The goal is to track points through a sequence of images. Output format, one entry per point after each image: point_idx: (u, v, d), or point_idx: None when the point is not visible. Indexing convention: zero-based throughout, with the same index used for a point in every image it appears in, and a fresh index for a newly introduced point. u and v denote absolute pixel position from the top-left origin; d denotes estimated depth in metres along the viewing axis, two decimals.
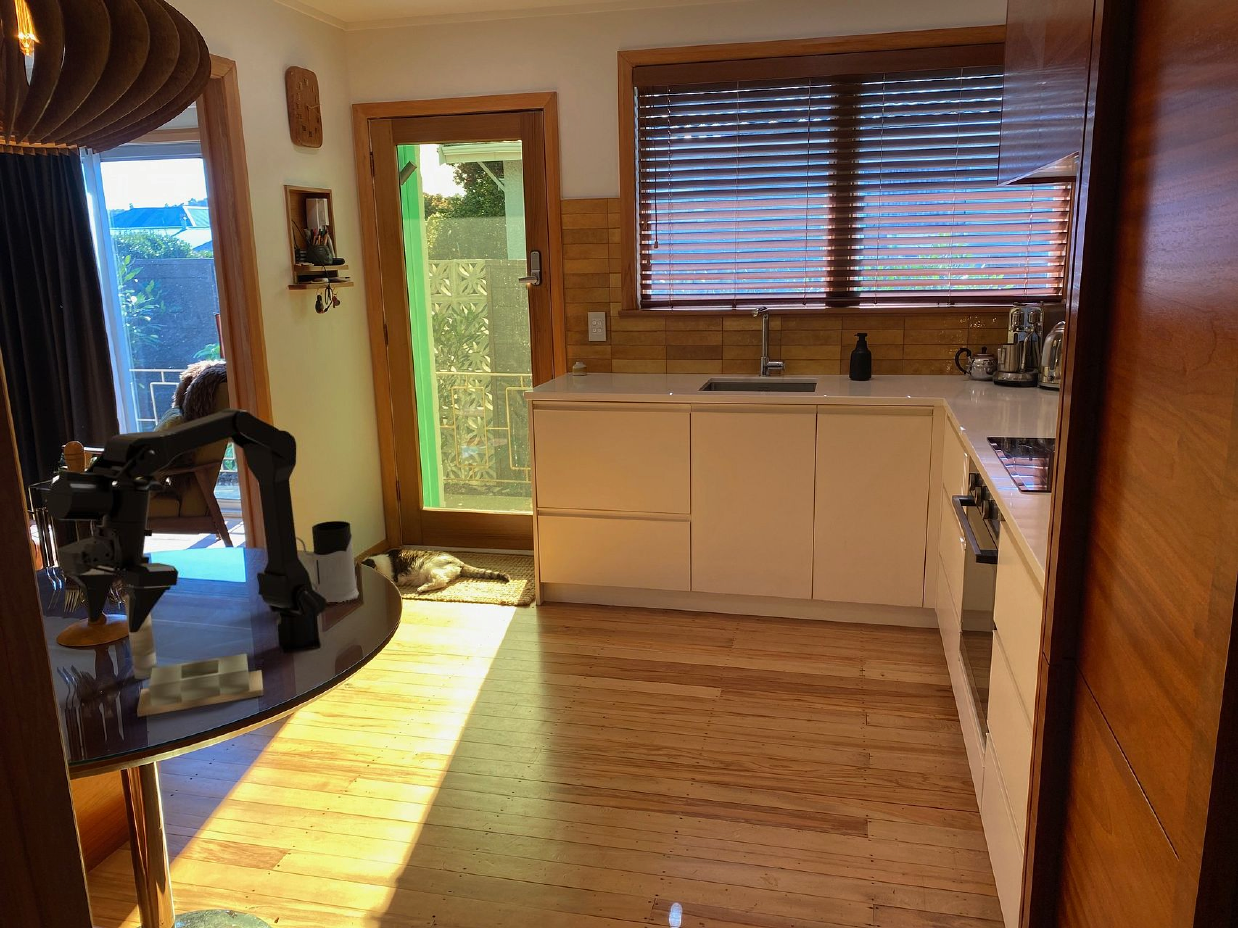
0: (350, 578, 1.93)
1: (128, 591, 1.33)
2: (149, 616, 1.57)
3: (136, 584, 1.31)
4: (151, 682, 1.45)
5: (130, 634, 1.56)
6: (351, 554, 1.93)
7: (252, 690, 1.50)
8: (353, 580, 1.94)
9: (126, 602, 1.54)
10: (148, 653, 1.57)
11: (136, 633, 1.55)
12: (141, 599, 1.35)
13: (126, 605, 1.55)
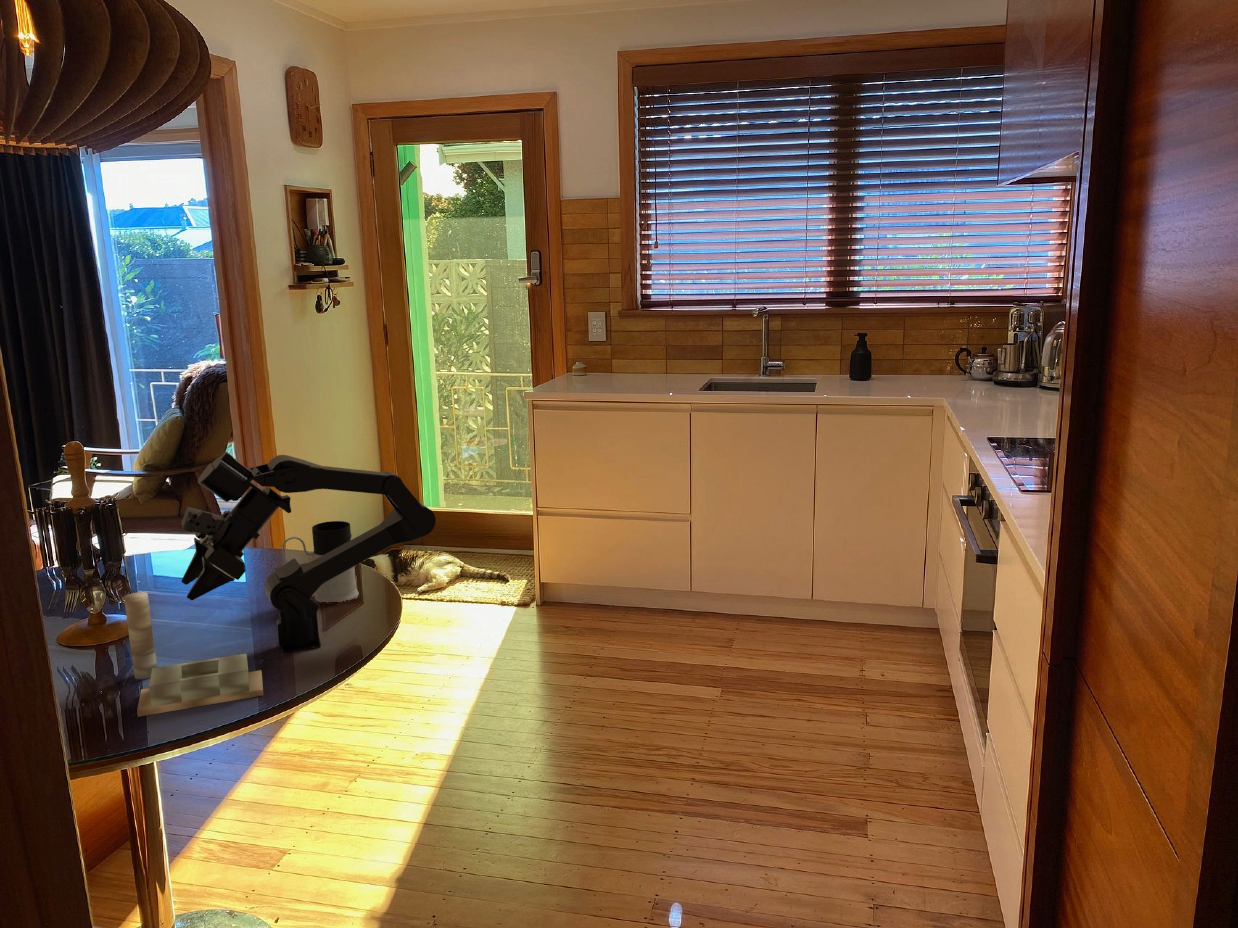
0: (350, 578, 1.93)
1: (203, 563, 1.54)
2: (149, 616, 1.57)
3: (207, 557, 1.52)
4: (151, 682, 1.45)
5: (130, 634, 1.56)
6: None
7: (252, 690, 1.50)
8: (353, 580, 1.94)
9: (126, 602, 1.54)
10: (148, 653, 1.57)
11: (136, 633, 1.55)
12: (209, 576, 1.55)
13: (126, 605, 1.55)
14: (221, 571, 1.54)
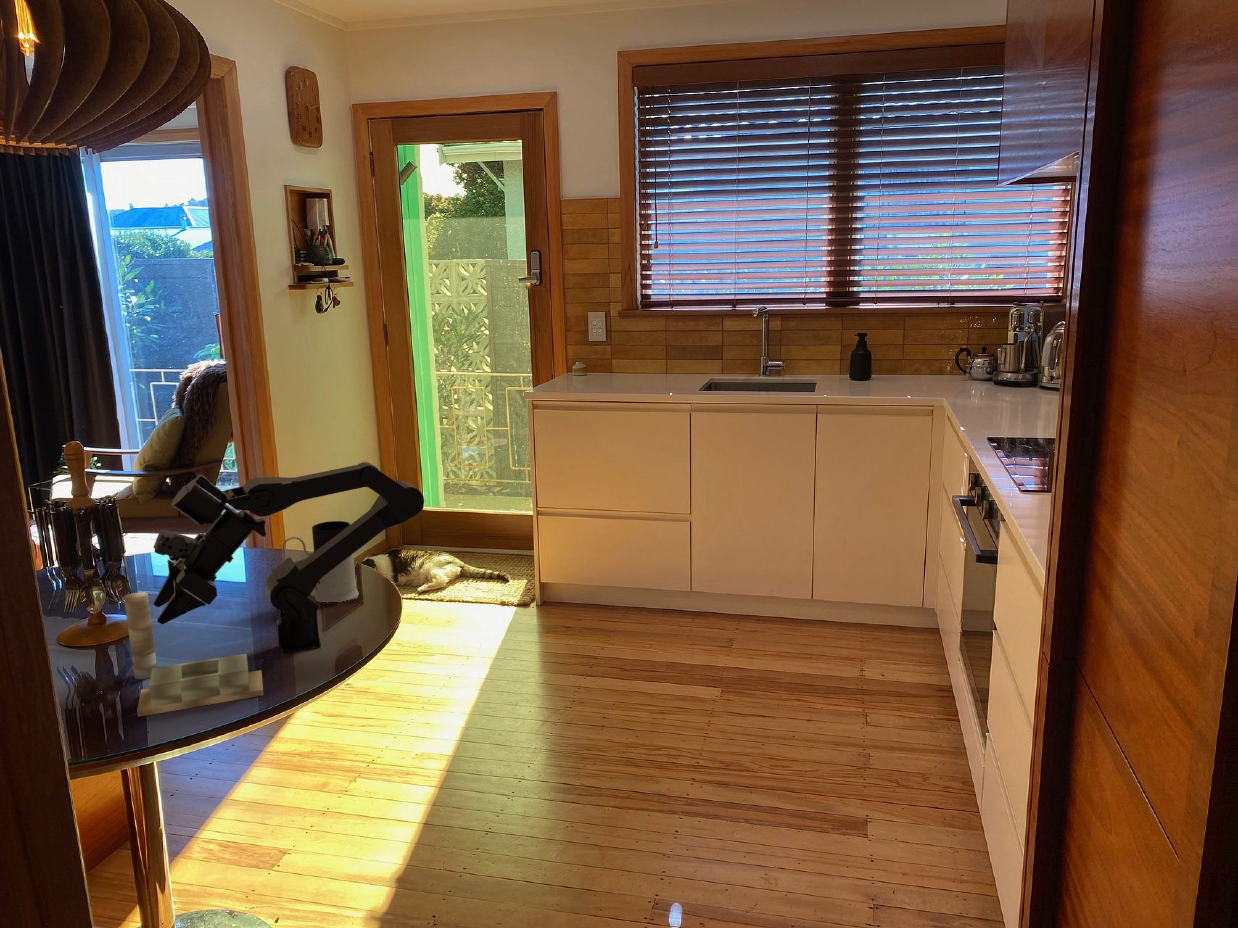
0: (350, 578, 1.93)
1: (174, 586, 1.53)
2: (149, 616, 1.57)
3: (178, 581, 1.51)
4: (151, 682, 1.45)
5: (130, 634, 1.56)
6: None
7: (252, 690, 1.50)
8: (353, 580, 1.94)
9: (126, 602, 1.54)
10: (148, 653, 1.57)
11: (136, 633, 1.55)
12: (180, 600, 1.54)
13: (126, 605, 1.55)
14: (192, 595, 1.52)
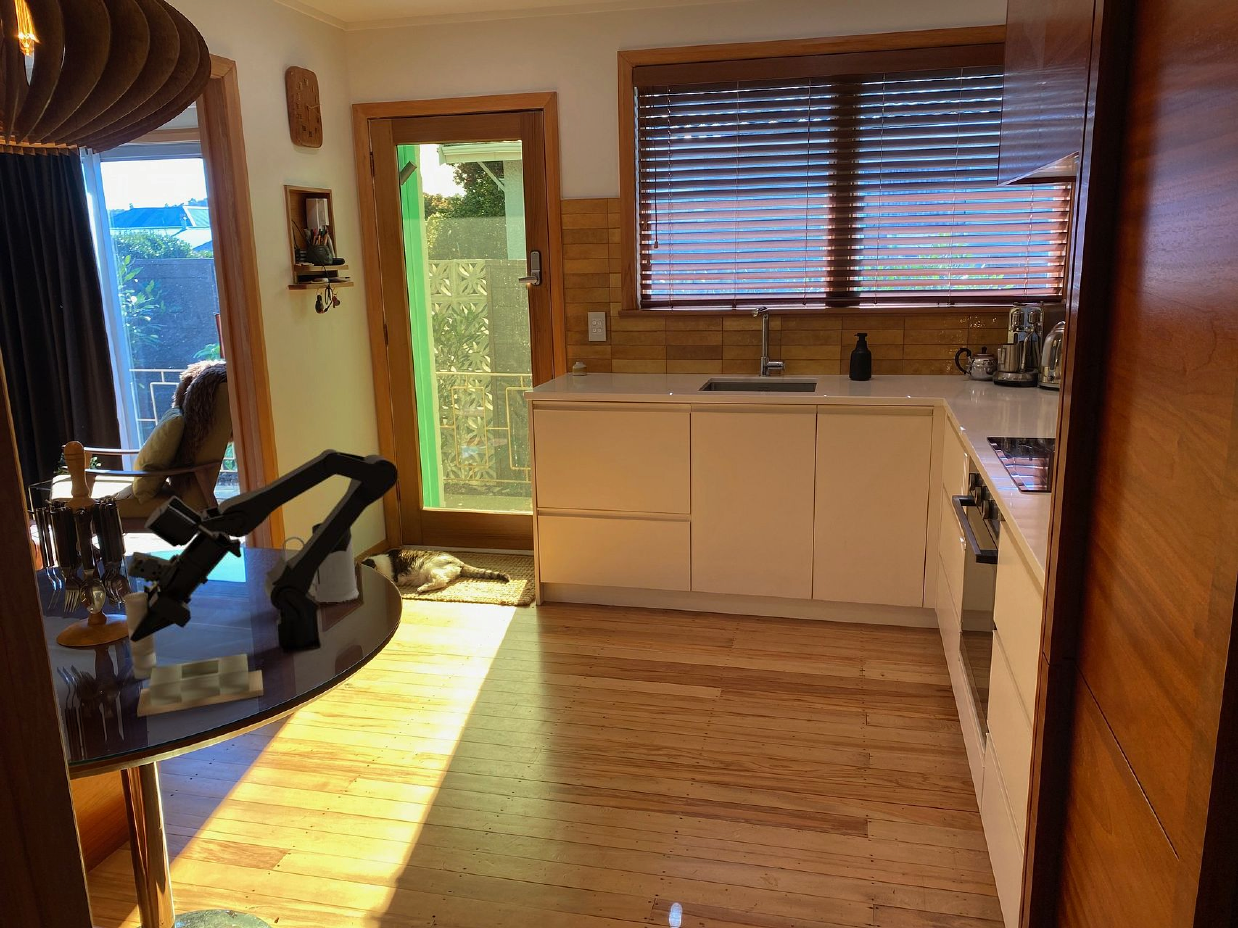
0: (350, 578, 1.93)
1: (146, 605, 1.54)
2: None
3: (150, 605, 1.49)
4: (151, 682, 1.45)
5: (130, 634, 1.56)
6: (351, 554, 1.93)
7: (252, 690, 1.50)
8: (353, 580, 1.94)
9: (126, 602, 1.54)
10: (148, 653, 1.57)
11: None
12: (152, 618, 1.55)
13: (126, 605, 1.55)
14: None
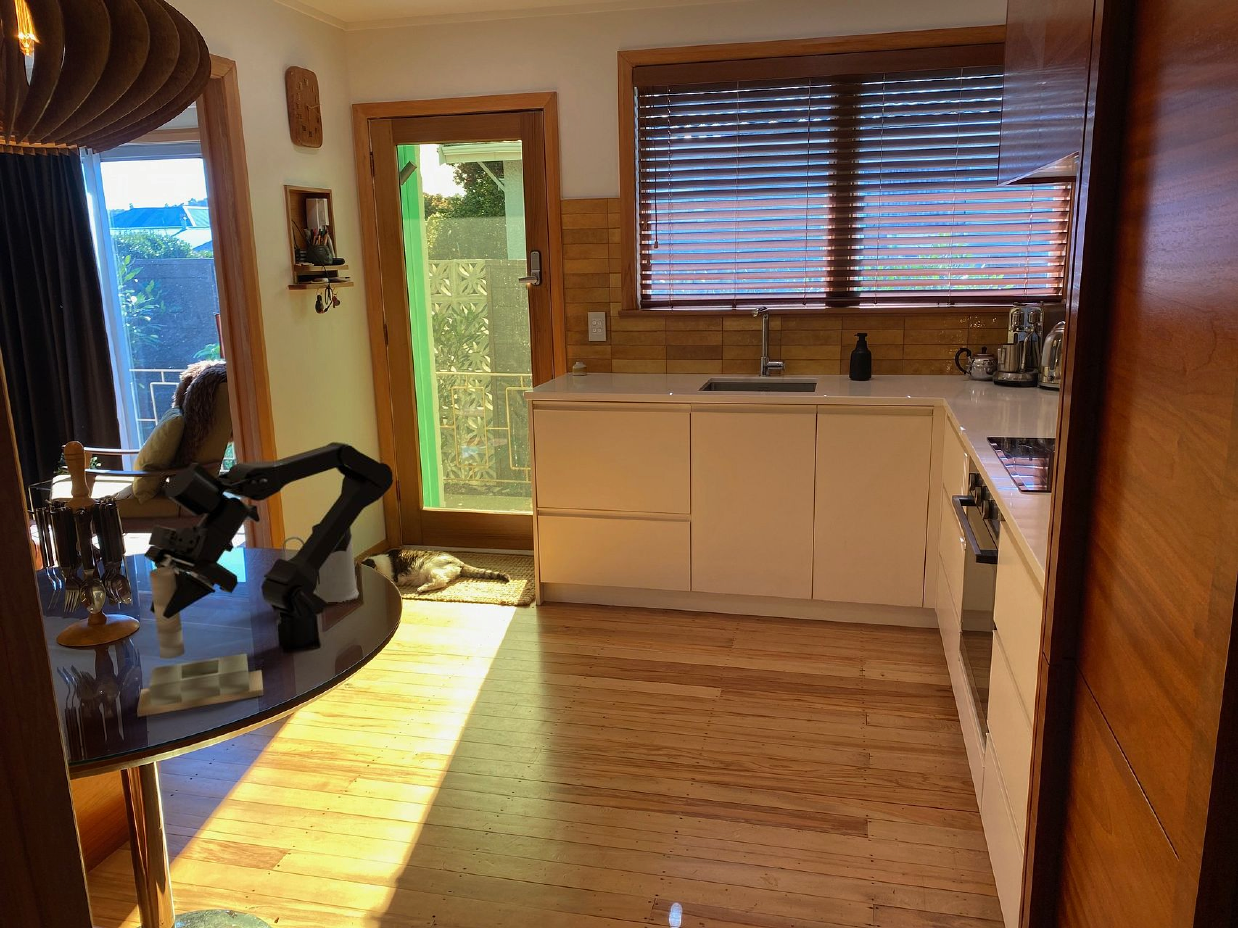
0: (350, 578, 1.93)
1: (181, 577, 1.48)
2: None
3: (201, 573, 1.44)
4: (151, 682, 1.45)
5: (159, 611, 1.48)
6: (351, 554, 1.93)
7: (252, 690, 1.50)
8: (353, 580, 1.94)
9: (155, 578, 1.47)
10: (179, 629, 1.50)
11: None
12: (187, 590, 1.49)
13: (155, 581, 1.47)
14: (204, 583, 1.48)
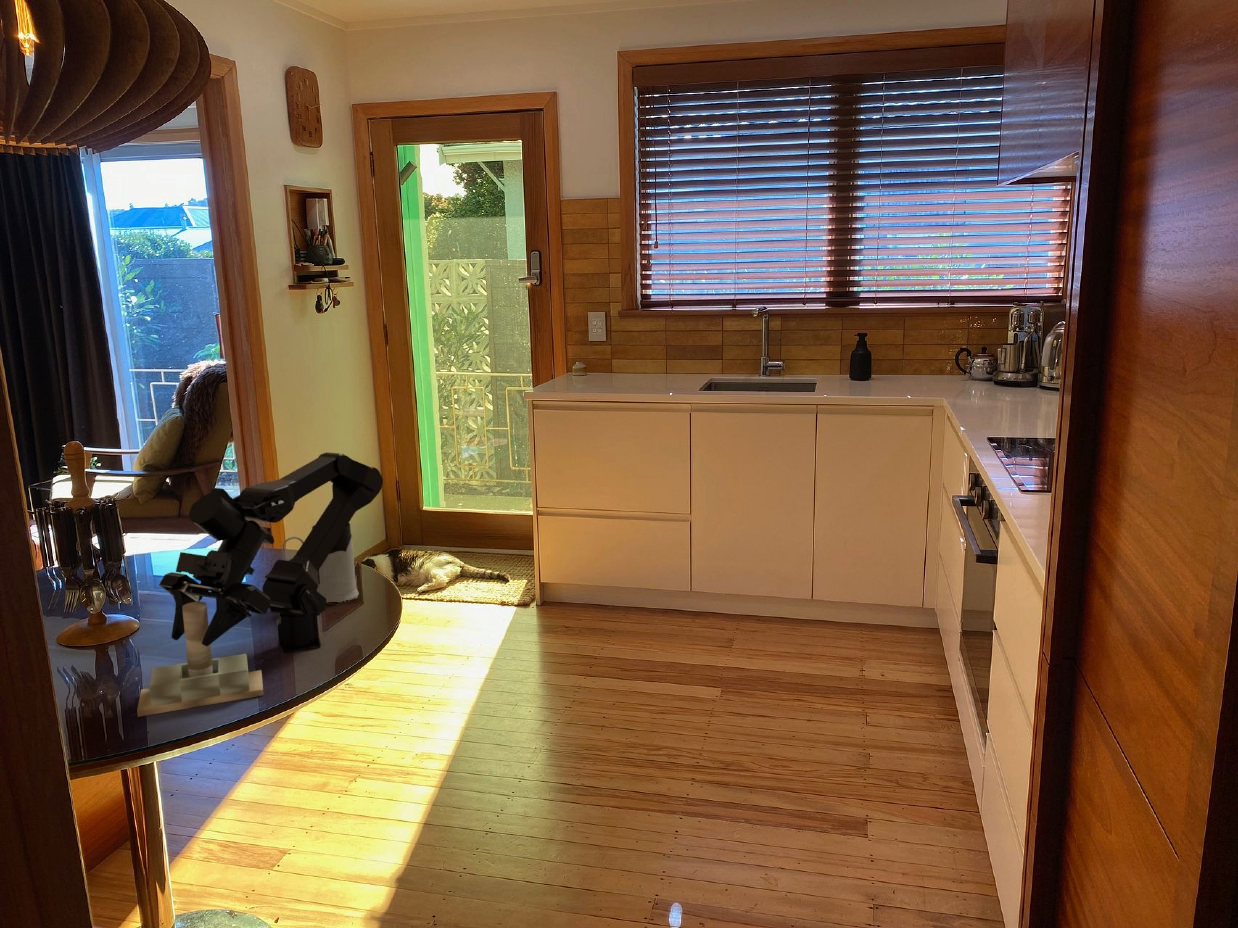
0: (350, 578, 1.93)
1: (219, 603, 1.47)
2: None
3: (240, 596, 1.45)
4: (151, 682, 1.45)
5: (193, 646, 1.47)
6: (351, 554, 1.93)
7: (252, 690, 1.50)
8: (353, 580, 1.94)
9: (190, 612, 1.46)
10: (211, 663, 1.50)
11: (202, 644, 1.48)
12: (224, 616, 1.48)
13: (190, 616, 1.46)
14: (242, 608, 1.48)
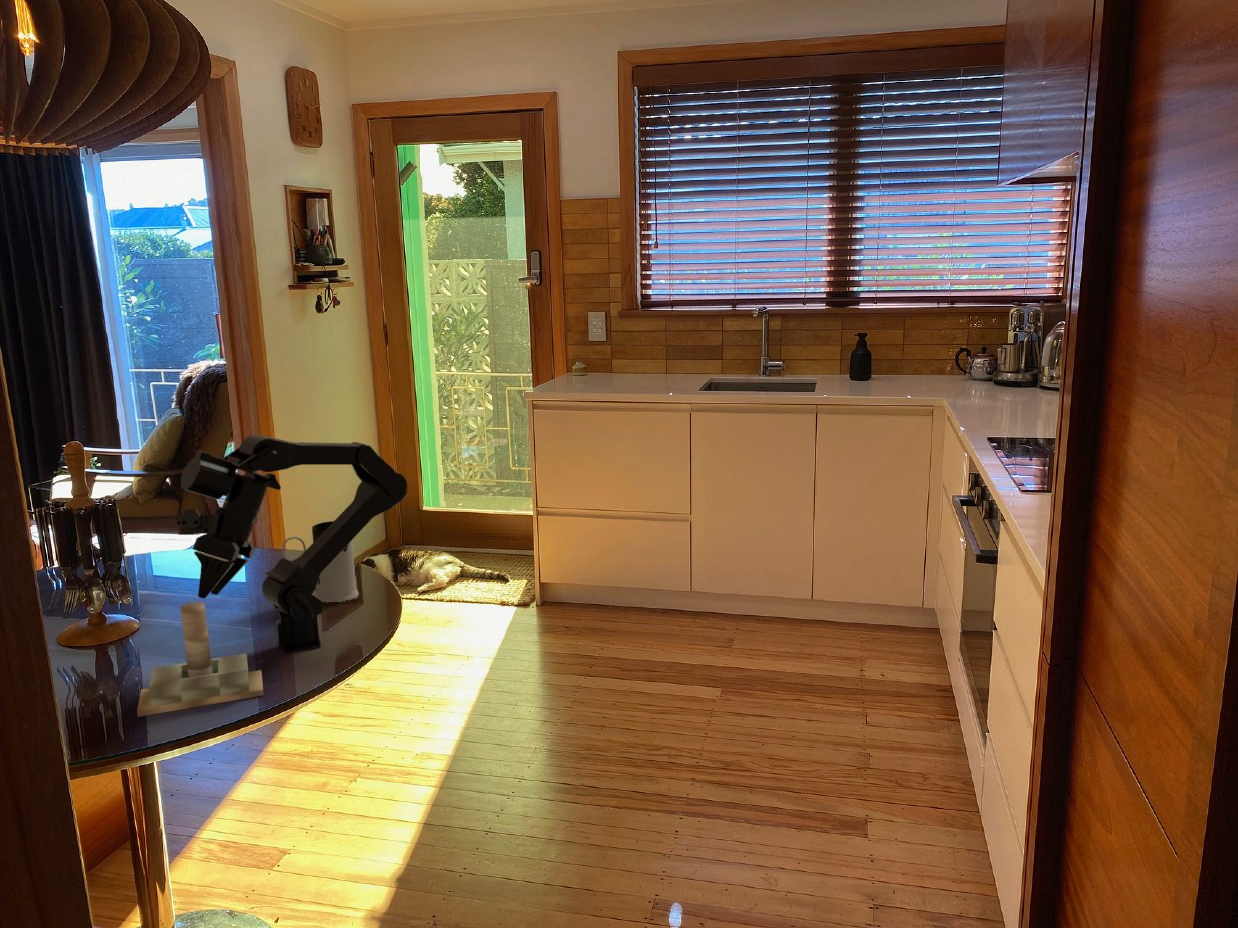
0: (350, 578, 1.93)
1: None
2: None
3: None
4: (151, 682, 1.45)
5: (192, 647, 1.47)
6: (351, 554, 1.93)
7: (252, 690, 1.50)
8: (353, 580, 1.94)
9: (189, 613, 1.46)
10: (210, 664, 1.50)
11: (201, 644, 1.48)
12: (210, 568, 1.52)
13: (188, 617, 1.46)
14: (214, 558, 1.50)
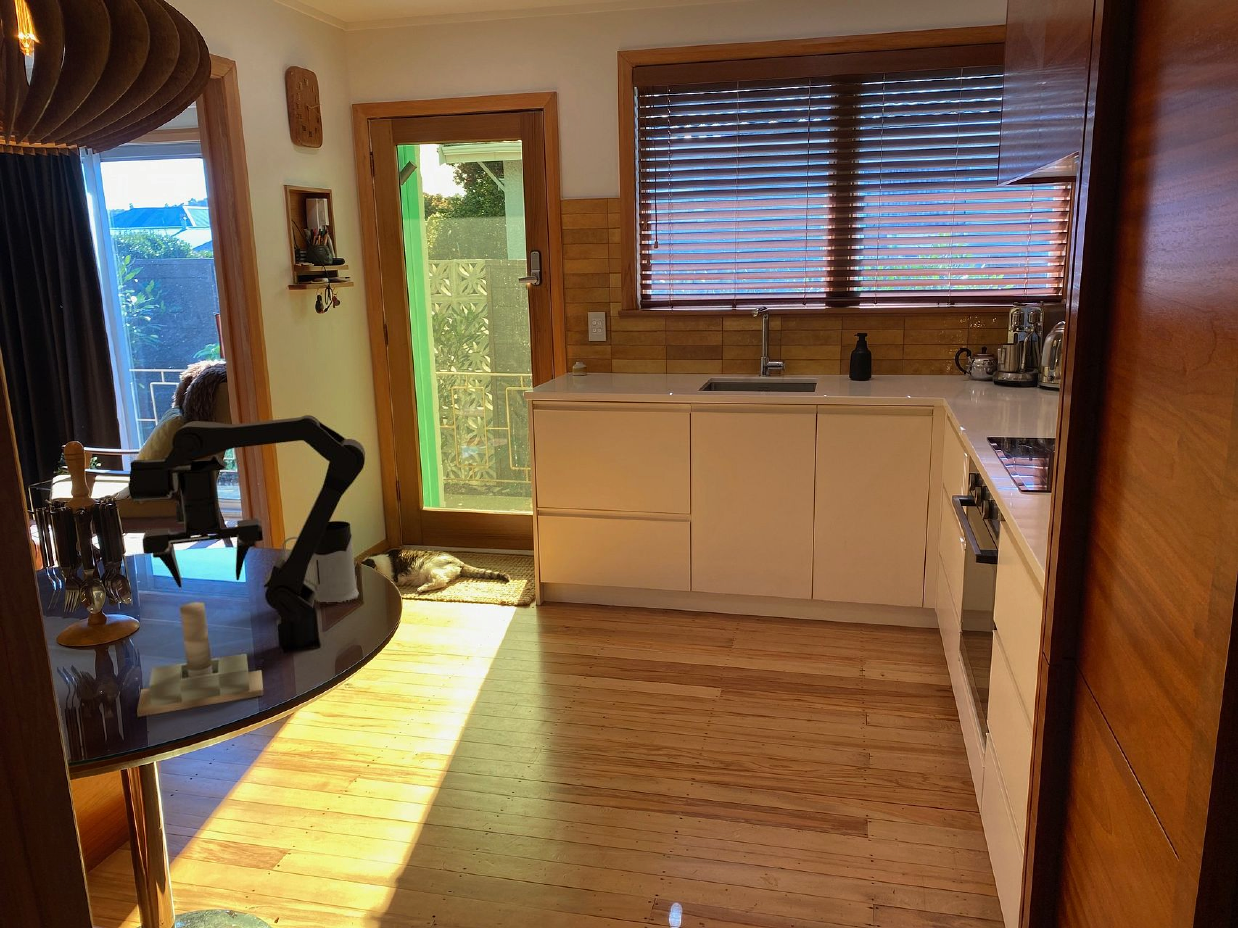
0: (350, 578, 1.93)
1: None
2: None
3: None
4: (151, 682, 1.45)
5: (192, 647, 1.47)
6: (351, 554, 1.93)
7: (252, 690, 1.50)
8: (353, 580, 1.94)
9: (188, 614, 1.46)
10: (210, 664, 1.50)
11: (200, 644, 1.47)
12: None
13: (188, 617, 1.46)
14: None
